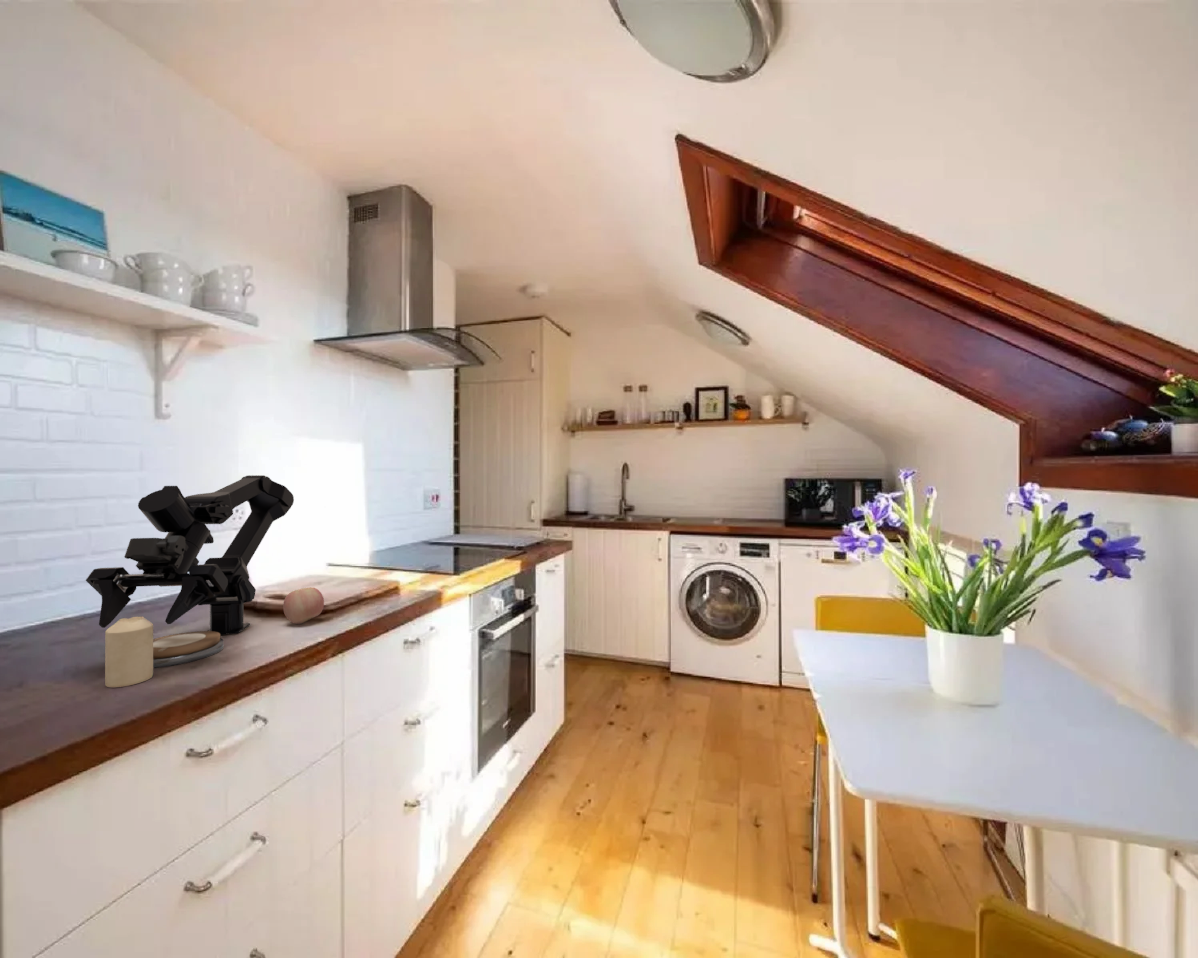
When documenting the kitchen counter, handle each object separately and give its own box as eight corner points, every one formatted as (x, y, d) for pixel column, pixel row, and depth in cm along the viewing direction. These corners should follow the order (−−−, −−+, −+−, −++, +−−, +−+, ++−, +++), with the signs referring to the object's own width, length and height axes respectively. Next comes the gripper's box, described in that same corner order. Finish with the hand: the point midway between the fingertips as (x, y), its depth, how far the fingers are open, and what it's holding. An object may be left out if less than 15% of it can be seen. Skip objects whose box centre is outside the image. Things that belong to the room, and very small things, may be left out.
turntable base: (157, 646, 93) (157, 640, 93) (235, 639, 97) (235, 634, 97) (111, 671, 81) (111, 664, 81) (202, 663, 85) (202, 656, 85)
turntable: (159, 639, 93) (159, 633, 93) (231, 634, 96) (231, 627, 96) (116, 661, 82) (116, 654, 82) (200, 654, 85) (200, 647, 85)
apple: (327, 616, 114) (327, 583, 114) (319, 625, 106) (319, 589, 106) (288, 620, 111) (288, 585, 111) (277, 629, 104) (277, 592, 104)
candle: (122, 689, 74) (123, 624, 74) (95, 686, 75) (95, 622, 75) (162, 675, 79) (162, 614, 79) (135, 672, 80) (136, 613, 80)
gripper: (95, 521, 82) (32, 600, 71) (219, 518, 86) (177, 594, 75) (130, 560, 90) (78, 637, 79) (242, 556, 93) (208, 630, 82)
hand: (135, 624), depth 78 cm, fingers open, 9 cm apart
